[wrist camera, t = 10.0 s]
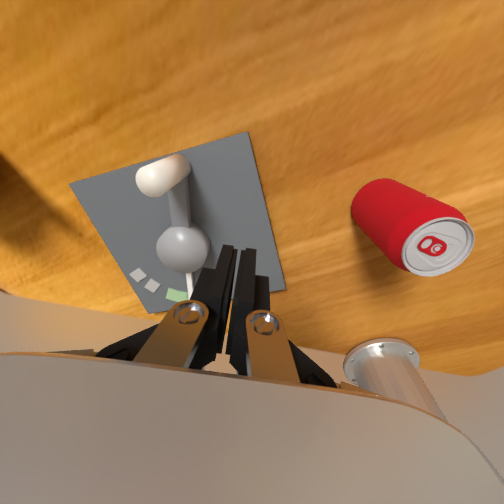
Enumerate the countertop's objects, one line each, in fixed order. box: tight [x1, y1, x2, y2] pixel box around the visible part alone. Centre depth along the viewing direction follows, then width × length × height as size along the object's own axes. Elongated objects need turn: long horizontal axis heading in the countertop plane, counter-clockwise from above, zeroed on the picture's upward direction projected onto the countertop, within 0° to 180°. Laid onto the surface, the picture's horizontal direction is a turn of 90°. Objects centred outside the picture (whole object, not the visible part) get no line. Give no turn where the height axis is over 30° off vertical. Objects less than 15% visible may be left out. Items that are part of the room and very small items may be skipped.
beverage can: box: [351, 179, 475, 276], centre depth 24 cm, size 6×6×12 cm
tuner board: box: [69, 131, 286, 314], centre depth 32 cm, size 21×22×1 cm
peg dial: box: [136, 154, 210, 300], centre depth 28 cm, size 22×6×8 cm, turn 178°
